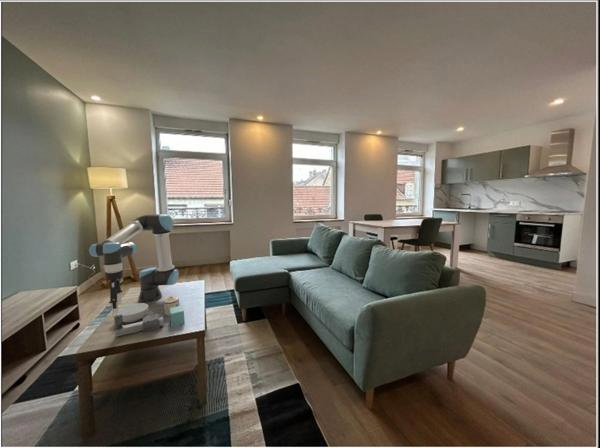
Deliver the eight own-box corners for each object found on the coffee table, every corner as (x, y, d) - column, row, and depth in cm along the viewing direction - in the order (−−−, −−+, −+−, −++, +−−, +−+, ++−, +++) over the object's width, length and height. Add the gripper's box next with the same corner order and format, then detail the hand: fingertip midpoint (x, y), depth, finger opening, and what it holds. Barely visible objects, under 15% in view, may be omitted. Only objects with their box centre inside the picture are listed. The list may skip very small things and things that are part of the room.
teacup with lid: (177, 315, 157) (176, 297, 155) (162, 316, 154) (161, 299, 153) (182, 307, 168) (181, 291, 167) (167, 308, 166) (166, 292, 165)
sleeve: (143, 327, 142) (143, 317, 141) (159, 323, 146) (158, 313, 145) (143, 333, 136) (142, 322, 135) (159, 328, 140) (159, 318, 139)
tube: (116, 333, 133) (114, 315, 132) (163, 322, 145) (162, 305, 144) (115, 336, 130) (113, 318, 129) (163, 324, 142) (162, 308, 141)
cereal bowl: (111, 328, 141) (110, 316, 141) (123, 315, 157) (122, 305, 156) (144, 323, 146) (143, 312, 145) (152, 311, 162) (151, 301, 161)
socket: (170, 320, 150) (169, 308, 149) (183, 317, 153) (182, 305, 152) (171, 326, 142) (170, 313, 141) (184, 323, 146) (183, 310, 145)
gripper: (108, 267, 138) (111, 302, 140) (100, 278, 116) (104, 320, 118) (124, 265, 142) (127, 299, 143) (119, 275, 120) (123, 316, 122)
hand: (117, 309), depth 131 cm, fingers open, 13 cm apart
